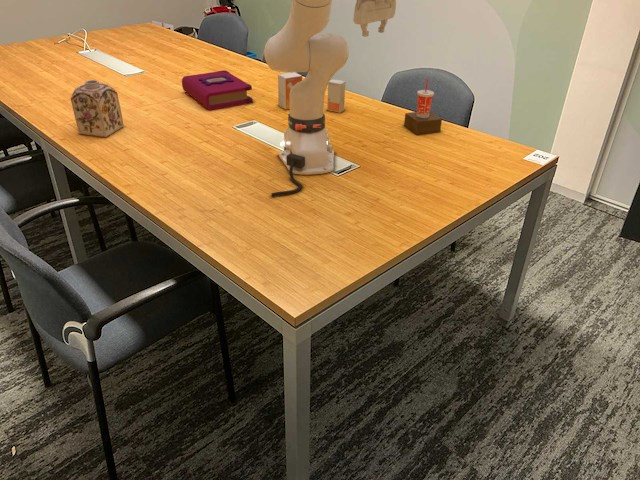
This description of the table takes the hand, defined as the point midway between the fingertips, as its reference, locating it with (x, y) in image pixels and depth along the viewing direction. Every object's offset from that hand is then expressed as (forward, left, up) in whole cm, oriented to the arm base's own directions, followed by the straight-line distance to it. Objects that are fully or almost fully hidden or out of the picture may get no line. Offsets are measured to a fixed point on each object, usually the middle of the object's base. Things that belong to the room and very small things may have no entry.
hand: (373, 34), depth 191 cm
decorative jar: (-1, +101, -32) cm, 106 cm away
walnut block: (-13, -18, -32) cm, 39 cm away
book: (+33, +59, -32) cm, 75 cm away
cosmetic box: (+11, +11, -32) cm, 35 cm away
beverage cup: (-13, -18, -27) cm, 35 cm away
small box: (+18, +29, -32) cm, 47 cm away
